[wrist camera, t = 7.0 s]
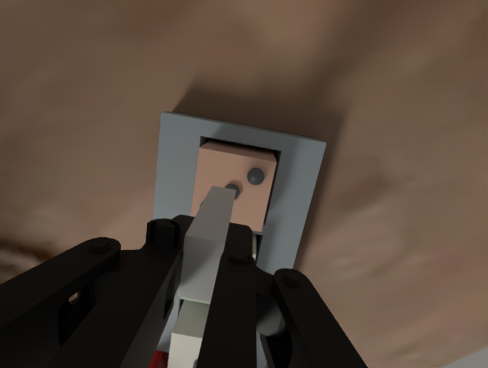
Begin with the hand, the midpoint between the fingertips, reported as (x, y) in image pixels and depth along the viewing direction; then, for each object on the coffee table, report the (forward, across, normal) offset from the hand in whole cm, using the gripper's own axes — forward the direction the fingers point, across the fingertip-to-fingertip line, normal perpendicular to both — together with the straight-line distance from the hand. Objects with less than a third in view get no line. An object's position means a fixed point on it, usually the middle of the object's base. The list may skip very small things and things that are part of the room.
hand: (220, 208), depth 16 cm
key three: (+7, 0, 0) cm, 7 cm away
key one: (+6, 0, -15) cm, 16 cm away
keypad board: (+8, 0, -7) cm, 11 cm away
